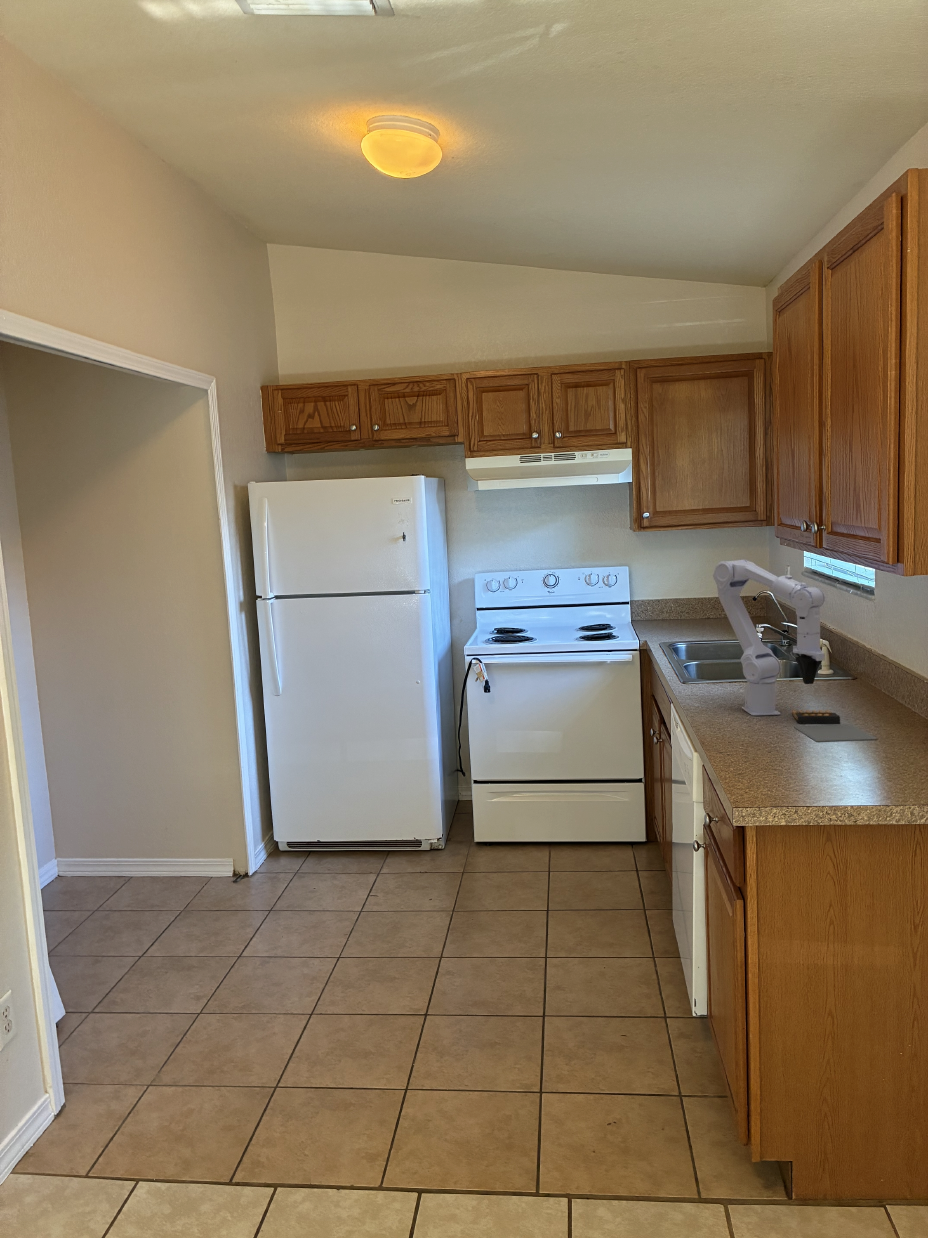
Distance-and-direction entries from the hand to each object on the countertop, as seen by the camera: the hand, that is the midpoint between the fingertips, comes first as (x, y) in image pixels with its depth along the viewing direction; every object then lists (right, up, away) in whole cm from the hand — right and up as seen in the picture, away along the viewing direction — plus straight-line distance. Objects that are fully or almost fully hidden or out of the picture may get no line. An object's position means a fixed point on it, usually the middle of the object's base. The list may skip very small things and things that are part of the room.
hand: (808, 683), depth 247 cm
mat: (+2, -12, -11) cm, 16 cm away
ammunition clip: (+2, -10, -1) cm, 10 cm away
